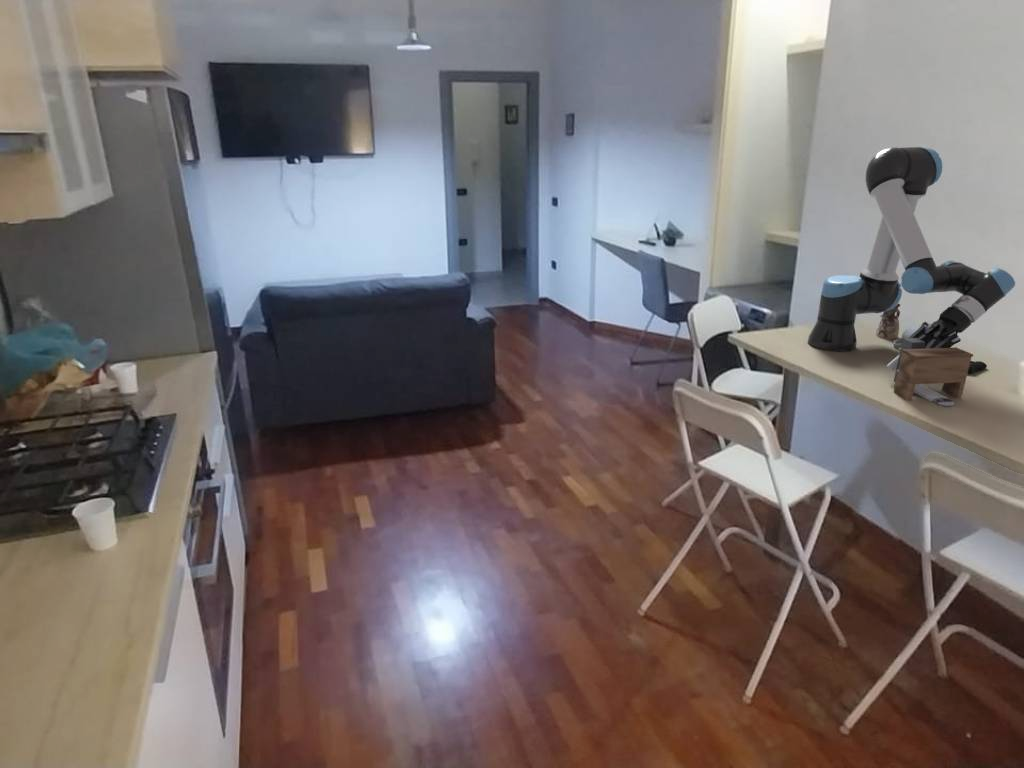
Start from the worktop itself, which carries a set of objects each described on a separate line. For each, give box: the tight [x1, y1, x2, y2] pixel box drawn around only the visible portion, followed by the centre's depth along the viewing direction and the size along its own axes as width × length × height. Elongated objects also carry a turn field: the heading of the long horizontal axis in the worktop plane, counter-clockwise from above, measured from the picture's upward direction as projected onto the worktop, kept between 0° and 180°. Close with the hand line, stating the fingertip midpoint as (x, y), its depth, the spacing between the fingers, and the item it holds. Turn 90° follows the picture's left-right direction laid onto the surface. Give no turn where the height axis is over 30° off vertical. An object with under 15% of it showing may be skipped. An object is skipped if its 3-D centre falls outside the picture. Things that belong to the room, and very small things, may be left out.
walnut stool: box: [893, 347, 974, 401], centre depth 187 cm, size 6×16×13 cm, turn 97°
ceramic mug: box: [892, 325, 931, 349], centre depth 229 cm, size 11×8×8 cm
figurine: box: [875, 302, 901, 340], centre depth 241 cm, size 7×7×12 cm
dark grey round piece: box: [934, 398, 955, 408], centre depth 182 cm, size 4×4×1 cm
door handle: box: [967, 360, 987, 375], centre depth 215 cm, size 3×20×16 cm
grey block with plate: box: [893, 338, 948, 402], centre depth 190 cm, size 16×5×13 cm, turn 7°
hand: (895, 371), depth 196 cm, fingers closed on grey block with plate, 4 cm apart
